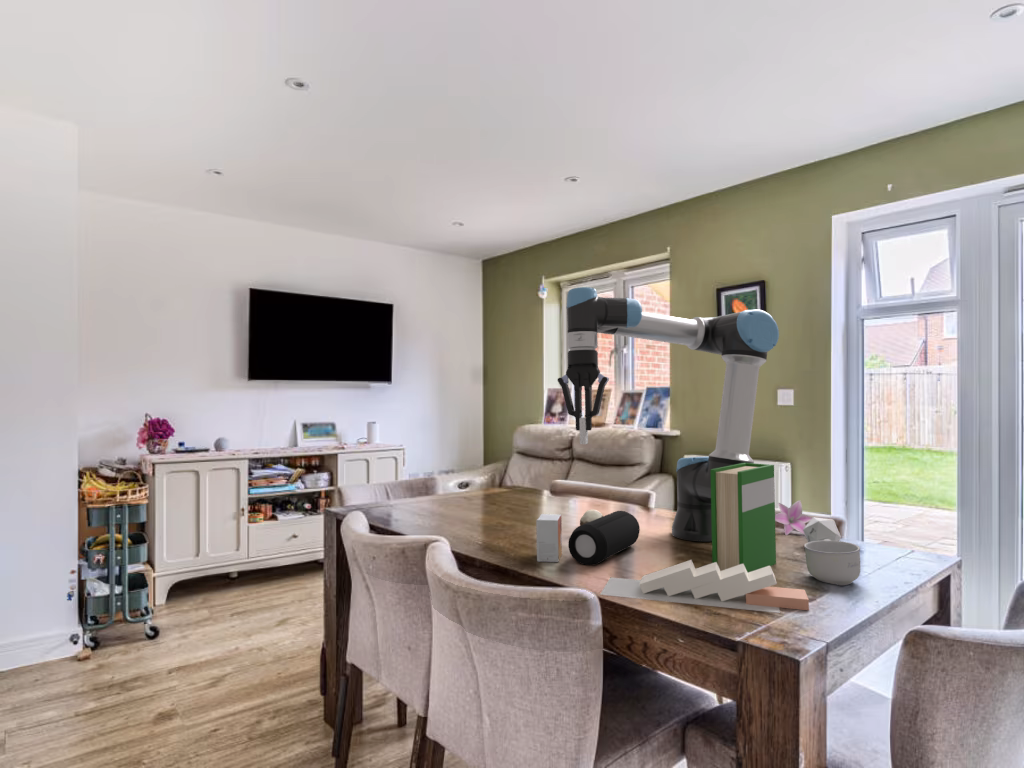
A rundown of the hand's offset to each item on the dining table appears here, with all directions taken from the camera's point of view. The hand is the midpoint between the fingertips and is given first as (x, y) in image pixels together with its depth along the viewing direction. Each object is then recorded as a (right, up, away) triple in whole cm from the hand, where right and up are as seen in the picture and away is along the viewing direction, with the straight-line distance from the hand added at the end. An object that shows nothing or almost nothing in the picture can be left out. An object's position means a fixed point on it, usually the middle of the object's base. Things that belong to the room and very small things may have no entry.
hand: (583, 443), depth 149 cm
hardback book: (+37, -29, -8) cm, 48 cm away
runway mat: (+18, -29, -27) cm, 43 cm away
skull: (+6, -30, +27) cm, 41 cm away
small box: (-8, -30, +3) cm, 31 cm away
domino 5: (+29, -27, -30) cm, 50 cm away
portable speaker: (+6, -30, +5) cm, 31 cm away
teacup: (+53, -29, -17) cm, 63 cm away
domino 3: (+19, -27, -27) cm, 43 cm away
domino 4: (+24, -27, -29) cm, 46 cm away
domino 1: (+10, -27, -24) cm, 37 cm away
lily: (+65, -29, +27) cm, 76 cm away
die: (+65, -29, +9) cm, 71 cm away
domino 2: (+14, -27, -25) cm, 40 cm away
